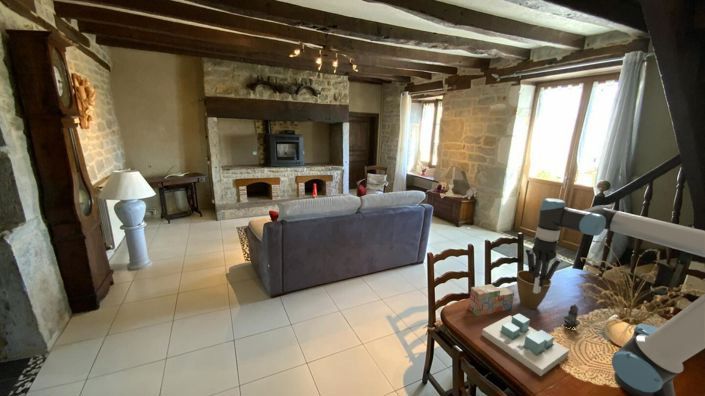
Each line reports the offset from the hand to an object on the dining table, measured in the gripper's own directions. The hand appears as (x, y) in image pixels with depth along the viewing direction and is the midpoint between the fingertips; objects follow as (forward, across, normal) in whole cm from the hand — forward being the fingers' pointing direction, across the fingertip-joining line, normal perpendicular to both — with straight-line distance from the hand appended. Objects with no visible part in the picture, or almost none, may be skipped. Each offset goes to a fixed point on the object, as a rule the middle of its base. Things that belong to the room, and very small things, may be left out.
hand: (536, 292), depth 118 cm
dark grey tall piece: (+25, -4, -28) cm, 37 cm away
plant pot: (+25, +15, -28) cm, 40 cm away
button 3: (+21, -5, +5) cm, 22 cm away
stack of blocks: (+25, +23, -8) cm, 35 cm away
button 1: (+23, +5, +5) cm, 24 cm away
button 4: (+23, -5, -2) cm, 24 cm away
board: (+24, 0, +3) cm, 25 cm away
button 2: (+21, +5, -2) cm, 22 cm away
